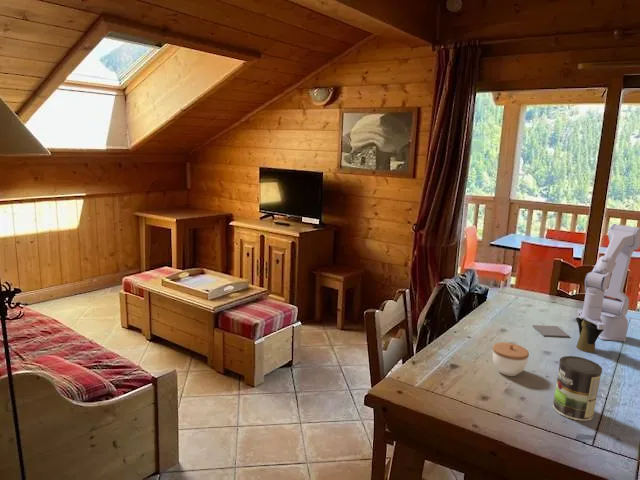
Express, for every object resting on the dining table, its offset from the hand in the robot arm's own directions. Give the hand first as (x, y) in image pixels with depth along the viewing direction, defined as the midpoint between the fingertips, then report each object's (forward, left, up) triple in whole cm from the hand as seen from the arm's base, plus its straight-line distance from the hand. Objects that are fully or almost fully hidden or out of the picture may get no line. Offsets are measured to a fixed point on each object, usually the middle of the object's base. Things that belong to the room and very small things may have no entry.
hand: (586, 340), depth 174 cm
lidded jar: (+36, +21, -3) cm, 42 cm away
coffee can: (+26, +43, -3) cm, 50 cm away
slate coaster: (+6, -15, -4) cm, 17 cm away
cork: (0, 0, -3) cm, 3 cm away
